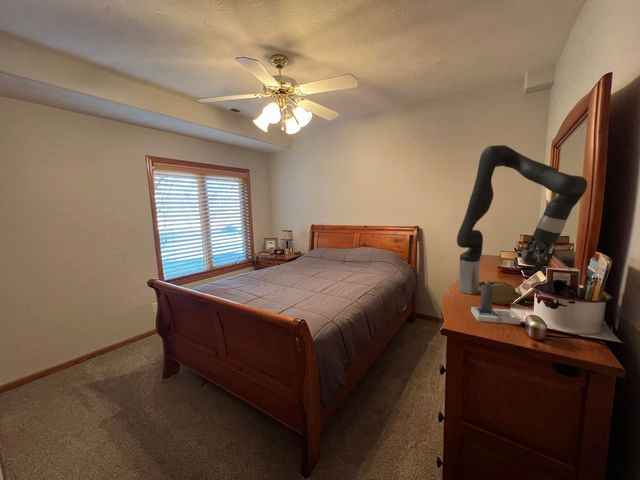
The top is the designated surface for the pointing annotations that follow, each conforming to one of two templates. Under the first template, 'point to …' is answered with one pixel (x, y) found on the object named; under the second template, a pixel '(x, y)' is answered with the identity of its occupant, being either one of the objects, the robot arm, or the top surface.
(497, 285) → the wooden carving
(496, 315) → the duct plate
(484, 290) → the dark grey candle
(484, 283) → the carrying case or bag
